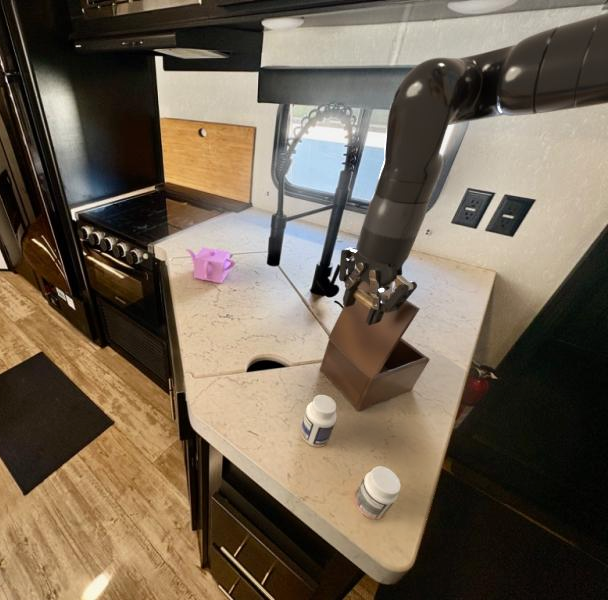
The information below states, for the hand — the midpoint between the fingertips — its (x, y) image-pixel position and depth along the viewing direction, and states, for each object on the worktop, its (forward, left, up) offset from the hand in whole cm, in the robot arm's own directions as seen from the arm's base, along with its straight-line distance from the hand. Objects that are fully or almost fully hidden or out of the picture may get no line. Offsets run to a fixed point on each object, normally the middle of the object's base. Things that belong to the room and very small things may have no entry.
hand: (359, 313), depth 57 cm
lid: (-3, -2, -4) cm, 6 cm away
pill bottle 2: (-2, +23, -22) cm, 32 cm away
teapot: (+32, -47, -22) cm, 61 cm away
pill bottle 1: (+5, +11, -22) cm, 26 cm away
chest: (-9, -4, -22) cm, 24 cm away
